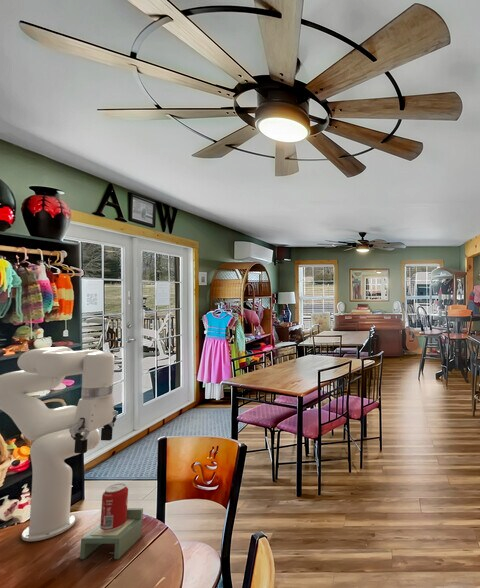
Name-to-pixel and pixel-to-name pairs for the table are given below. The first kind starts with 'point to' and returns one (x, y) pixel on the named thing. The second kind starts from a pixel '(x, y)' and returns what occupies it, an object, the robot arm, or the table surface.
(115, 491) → the beverage can
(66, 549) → the table surface
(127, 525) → the green stand
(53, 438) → the robot arm
